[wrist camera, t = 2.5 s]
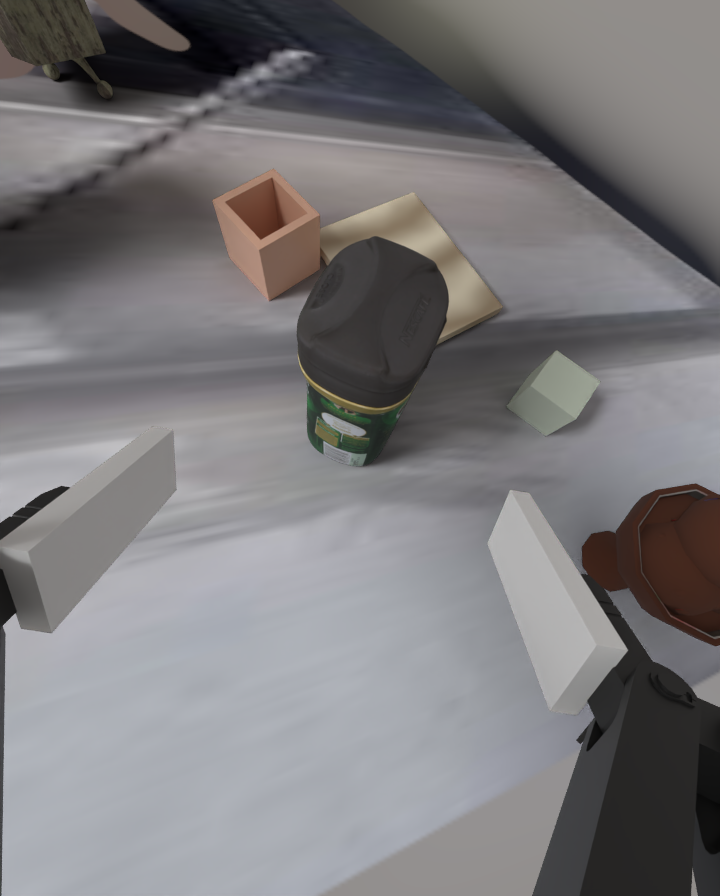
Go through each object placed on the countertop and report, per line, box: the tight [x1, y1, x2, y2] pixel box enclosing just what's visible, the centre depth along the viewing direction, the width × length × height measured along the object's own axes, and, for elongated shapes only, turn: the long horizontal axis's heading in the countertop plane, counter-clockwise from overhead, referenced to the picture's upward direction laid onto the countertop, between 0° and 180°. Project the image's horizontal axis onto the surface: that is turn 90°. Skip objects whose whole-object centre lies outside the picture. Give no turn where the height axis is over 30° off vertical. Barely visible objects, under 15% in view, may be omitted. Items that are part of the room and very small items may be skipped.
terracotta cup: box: [212, 169, 320, 301], centre depth 39 cm, size 7×7×7 cm
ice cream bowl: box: [582, 484, 720, 646], centre depth 29 cm, size 11×11×15 cm
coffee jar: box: [297, 236, 449, 466], centre depth 29 cm, size 10×8×19 cm
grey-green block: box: [506, 350, 601, 436], centre depth 38 cm, size 5×5×5 cm
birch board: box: [320, 192, 503, 345], centre depth 42 cm, size 18×14×1 cm
